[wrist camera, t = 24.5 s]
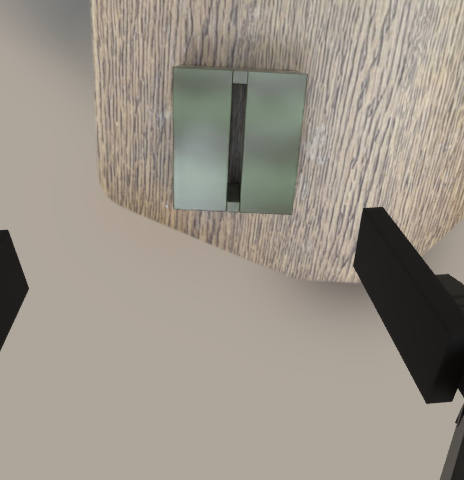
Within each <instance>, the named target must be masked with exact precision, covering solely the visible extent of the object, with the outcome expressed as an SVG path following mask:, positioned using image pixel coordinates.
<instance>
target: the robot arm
mask: <svg viewBox="0 0 464 480" xmlns="http://www.w3.org/2000/svg"><path fill="white" fill-rule="evenodd" d="M353 267H354V268H355V270H356V272H357V274H358V276H359V278H360V280H361V282H362V284H363V285H364V287H365V289H366V291H367V293H368V295H369V297H370V298H371V300H372V302H373V304H374V306H375V308H376V310H377V312H378V314H379V315H380V317H381V319H382V321H383V323H384V325H385V327H386V329H387V330H388V332H389V334H390V336H391V338H392V340H393V342H394V344H395V345H396V347H397V349H398V351H399V353H400V355H401V357H402V359H403V361H404V362H405V364H406V366H407V368H408V370H409V372H410V374H411V376H412V377H413V379H414V381H415V383H416V385H417V387H418V389H419V391H420V392H421V394H422V396H423V398H424V400H425V402H426V404H430V403H441V402H452V400H453V398H454V396H455V393H456V391H457V388H458V389H459V391H460V392H461V394H462V395H463V397H464V285H463V284H462V283H461V282H459V281H457V280H456V279H455V278H453V277H452V276H450V275H449V274H443V275H435V274H434V273H433V272H432V270H431V269H430V268H429V266H428V265H427V264H426V263H425V261H424V260H423V259H422V257H421V256H420V255H419V253H418V252H417V251H416V250H415V248H414V247H413V246H412V244H411V243H410V242H409V240H408V239H407V238H406V237H405V235H404V234H403V233H402V231H401V230H400V229H399V227H398V226H397V225H396V224H395V222H394V221H393V220H392V218H391V217H390V216H389V215H388V213H387V212H386V211H385V209H384V208H383V207H374V208H363V212H362V218H361V223H360V229H359V235H358V241H357V247H356V253H355V259H354V264H353ZM28 289H29V287H28V284H27V282H26V279H25V276H24V273H23V270H22V268H21V265H20V262H19V259H18V256H17V253H16V251H15V248H14V245H13V242H12V239H11V237H10V234H9V231H8V230H0V350H1V348H2V346H3V344H4V342H5V340H6V337H7V335H8V333H9V331H10V329H11V327H12V324H13V322H14V320H15V318H16V316H17V313H18V311H19V309H20V307H21V305H22V303H23V301H24V298H25V296H26V294H27V292H28ZM455 423H456V424H457V425H456V429H455V432H454V435H453V439H452V442H451V445H450V449H449V451H448V455H447V458H446V461H445V464H444V468H443V471H442V474H441V478H440V480H464V404H463V406H462V408H461V410H460V413H459V415H458V417H457V419H456V422H455Z"/></svg>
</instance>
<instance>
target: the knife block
mask: <svg viewBox="0 0 464 480" xmlns="http://www.w3.org/2000/svg"><path fill="white" fill-rule="evenodd" d="M307 77H308V74H305V73H302V72H299V71H291V70H272V69H253V68H235V67H233V68H232V67H215V66H197V65H179V66H176V67H173V209H176V210H198V211H220V212H226V211H227V212H240V213H263V214H285V215H292V212H293V203H294V194H295V185H296V176H297V167H298V158H299V149H300V140H301V131H302V122H303V113H304V104H305V95H306V86H307ZM232 83H233V84H245V88H244V105H243V122H242V139H241V157H240V174H239V184H237V183H228V166H229V145H230V123H231V102H232Z"/></svg>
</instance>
